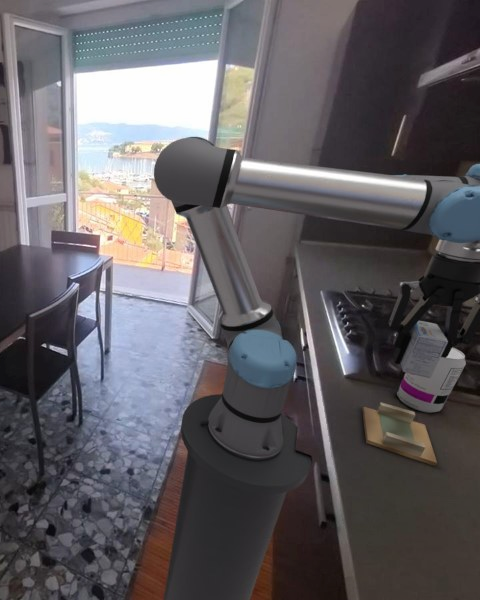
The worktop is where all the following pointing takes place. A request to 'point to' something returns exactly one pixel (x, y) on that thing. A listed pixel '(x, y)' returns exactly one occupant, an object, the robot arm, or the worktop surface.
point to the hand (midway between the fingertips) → (412, 364)
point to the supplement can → (432, 384)
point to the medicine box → (423, 349)
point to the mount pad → (398, 433)
